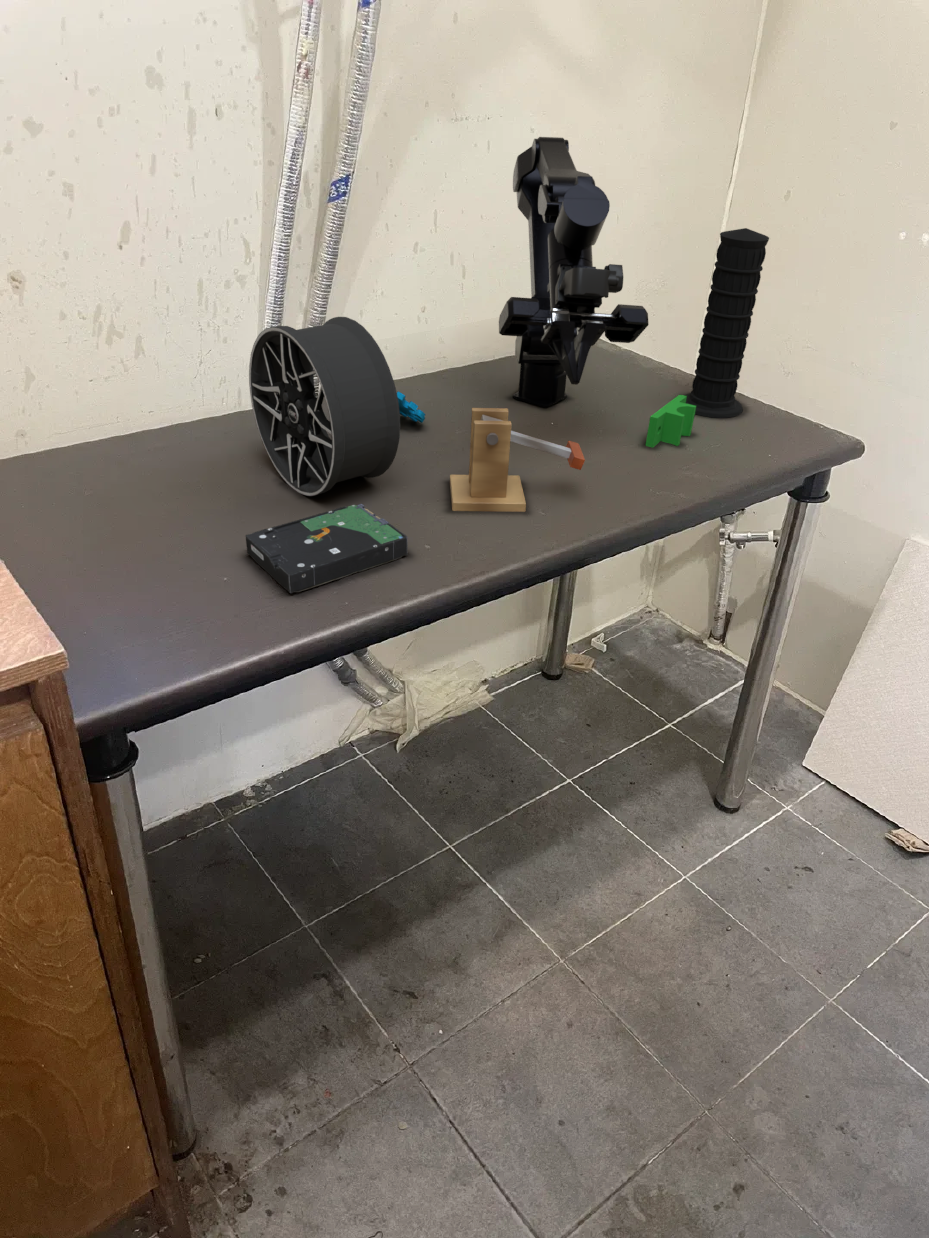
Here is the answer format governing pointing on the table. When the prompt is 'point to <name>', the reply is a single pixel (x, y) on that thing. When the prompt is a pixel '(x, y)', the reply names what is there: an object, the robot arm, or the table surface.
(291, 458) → the wheel rim
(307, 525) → the disk drive
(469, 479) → the bracket
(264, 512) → the table surface
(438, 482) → the table surface
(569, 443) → the lever
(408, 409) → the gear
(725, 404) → the handle grip
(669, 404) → the pipe clamp
